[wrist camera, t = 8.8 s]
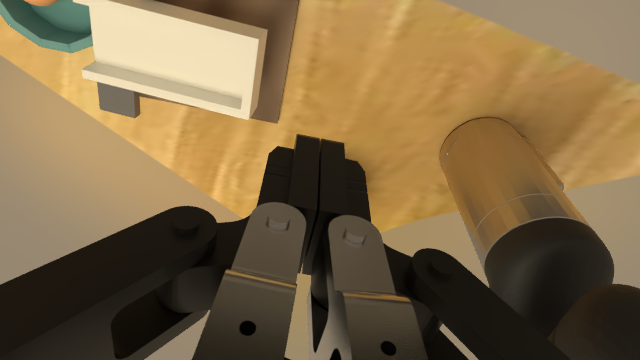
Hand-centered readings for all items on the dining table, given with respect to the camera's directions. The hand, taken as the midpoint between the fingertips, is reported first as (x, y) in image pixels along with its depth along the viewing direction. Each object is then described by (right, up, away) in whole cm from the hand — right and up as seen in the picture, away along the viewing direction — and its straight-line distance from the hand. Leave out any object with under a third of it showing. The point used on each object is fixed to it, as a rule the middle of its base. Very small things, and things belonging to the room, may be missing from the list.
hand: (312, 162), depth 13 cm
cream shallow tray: (-13, +10, +24) cm, 29 cm away
